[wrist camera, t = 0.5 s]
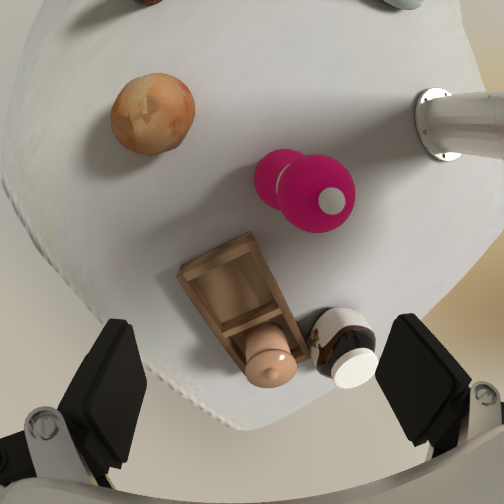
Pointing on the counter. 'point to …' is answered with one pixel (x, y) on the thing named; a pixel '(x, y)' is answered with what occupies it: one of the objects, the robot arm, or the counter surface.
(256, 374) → the salt crock
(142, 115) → the onion
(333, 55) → the counter surface
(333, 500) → the robot arm
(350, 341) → the spread jar
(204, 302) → the caddy
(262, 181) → the pepper mill
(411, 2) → the air freshener
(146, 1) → the supplement bottle
